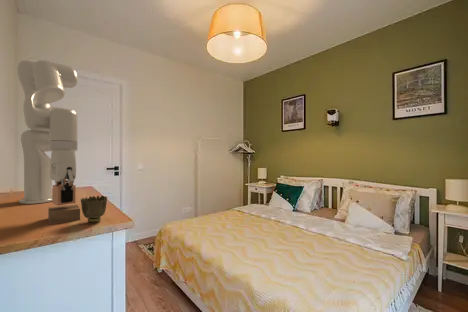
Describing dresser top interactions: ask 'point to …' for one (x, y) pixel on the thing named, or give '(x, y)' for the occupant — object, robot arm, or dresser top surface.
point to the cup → (93, 208)
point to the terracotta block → (57, 195)
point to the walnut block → (63, 214)
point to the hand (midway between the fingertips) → (64, 200)
